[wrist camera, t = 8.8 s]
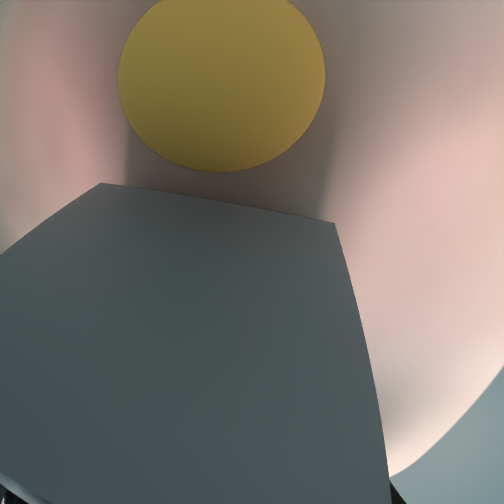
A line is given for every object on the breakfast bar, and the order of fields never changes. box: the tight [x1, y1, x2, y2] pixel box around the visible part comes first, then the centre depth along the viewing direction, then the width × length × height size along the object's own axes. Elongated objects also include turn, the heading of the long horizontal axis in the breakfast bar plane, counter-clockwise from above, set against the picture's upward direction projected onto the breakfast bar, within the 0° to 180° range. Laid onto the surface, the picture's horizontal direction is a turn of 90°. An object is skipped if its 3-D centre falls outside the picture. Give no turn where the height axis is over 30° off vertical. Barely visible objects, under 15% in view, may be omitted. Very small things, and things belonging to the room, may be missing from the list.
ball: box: [118, 0, 325, 173], centre depth 7 cm, size 5×5×5 cm
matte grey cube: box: [0, 183, 392, 504], centre depth 8 cm, size 8×8×9 cm
